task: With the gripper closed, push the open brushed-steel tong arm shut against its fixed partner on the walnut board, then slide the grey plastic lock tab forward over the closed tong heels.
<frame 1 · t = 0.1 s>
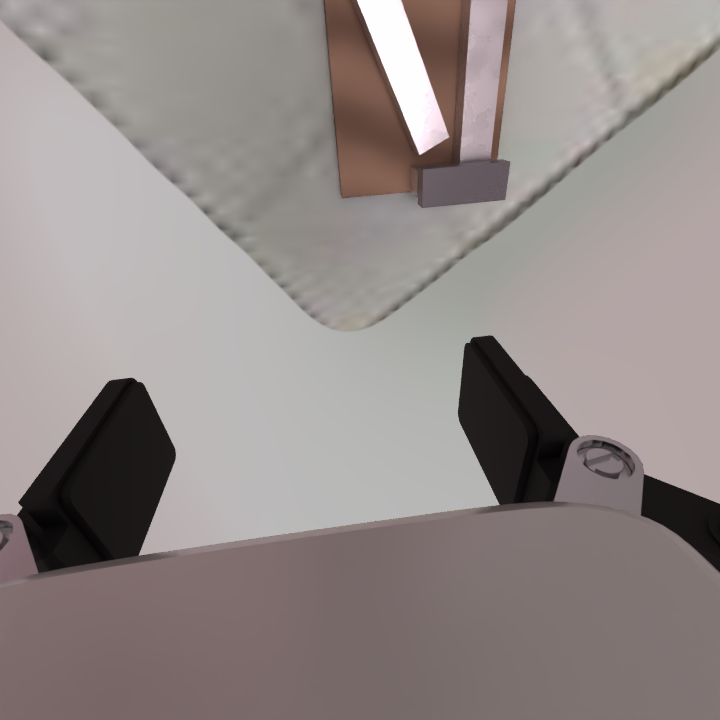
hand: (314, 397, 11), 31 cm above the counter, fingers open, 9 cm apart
lock tab: (462, 183, 33), point 5 cm above the counter, slide at 0.0 cm
tong arm: (382, 18, 29), point 2 cm above the counter, hinge at 25.0°
tongs fixed: (448, 28, 31), resting on walnut board
walnut board: (418, 38, 31), on the counter
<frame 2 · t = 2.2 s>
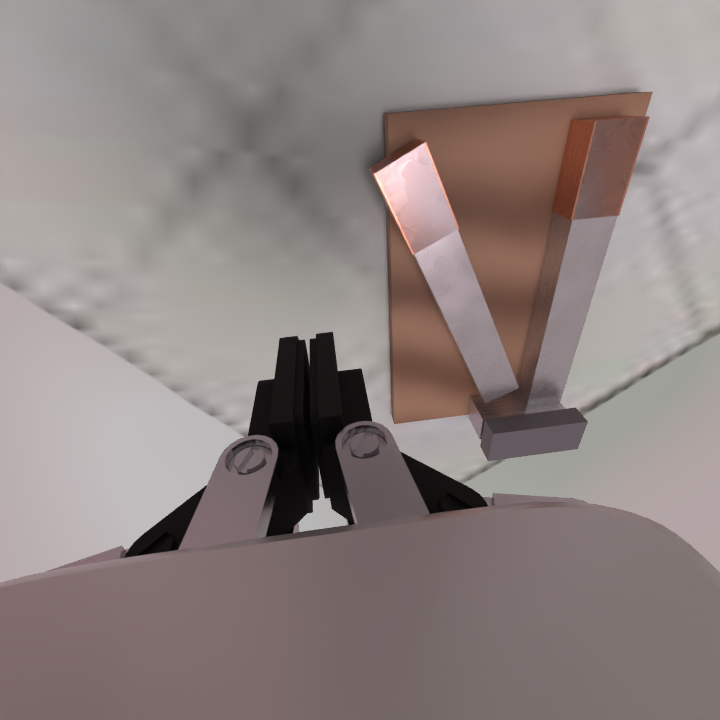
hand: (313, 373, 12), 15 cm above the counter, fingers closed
lock tab: (531, 434, 30), point 5 cm above the counter, slide at 0.0 cm
tong arm: (456, 294, 26), point 3 cm above the counter, hinge at 25.0°
tongs fixed: (521, 278, 28), resting on walnut board
walnut board: (488, 288, 28), on the counter
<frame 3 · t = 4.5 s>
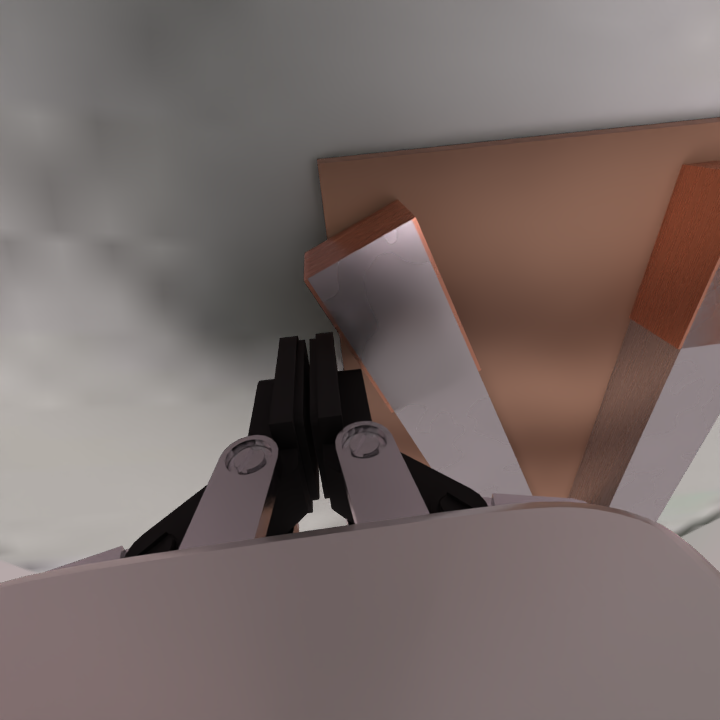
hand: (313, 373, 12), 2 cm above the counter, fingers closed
tong arm: (469, 451, 15), point 2 cm above the counter, hinge at 23.3°, touching gripper
tongs fixed: (566, 403, 18), resting on walnut board
walnut board: (512, 419, 18), on the counter
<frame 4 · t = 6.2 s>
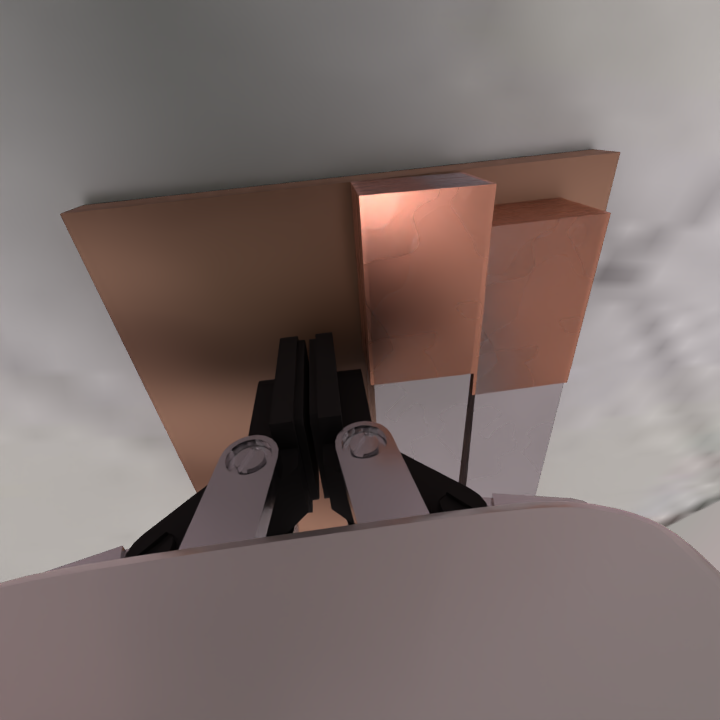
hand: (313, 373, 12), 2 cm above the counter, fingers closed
tong arm: (412, 460, 14), point 2 cm above the counter, hinge at -1.2°, touching gripper, tongs fixed
tongs fixed: (426, 438, 17), resting on walnut board
walnut board: (372, 453, 17), on the counter
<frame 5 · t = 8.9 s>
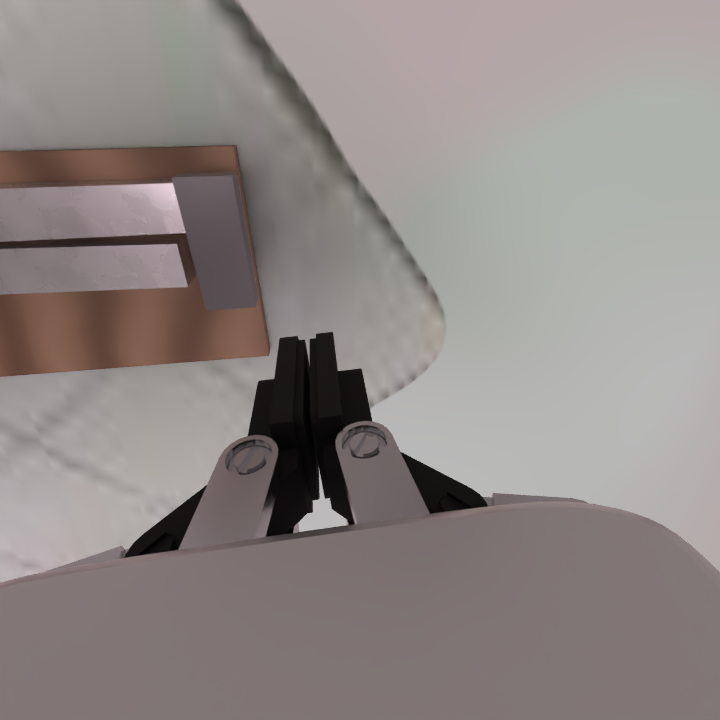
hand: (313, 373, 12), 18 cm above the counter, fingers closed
lock tab: (220, 244, 22), point 5 cm above the counter, slide at 0.0 cm
tong arm: (30, 265, 24), point 2 cm above the counter, hinge at -1.2°, touching tongs fixed
tongs fixed: (67, 235, 26), resting on walnut board
walnut board: (90, 270, 27), on the counter
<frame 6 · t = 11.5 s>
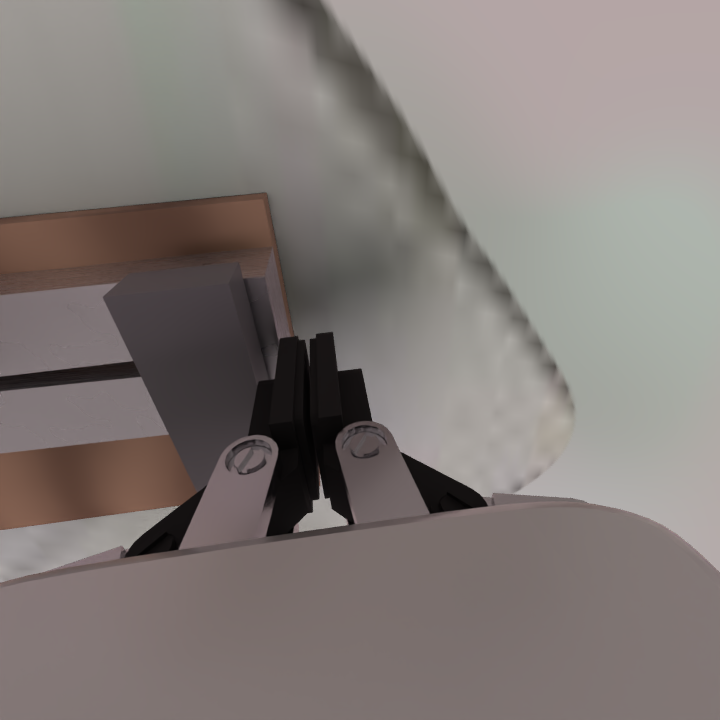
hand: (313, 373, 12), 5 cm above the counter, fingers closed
lock tab: (215, 390, 12), point 5 cm above the counter, slide at 1.1 cm, touching gripper
tongs fixed: (4, 348, 16), resting on walnut board
walnut board: (47, 393, 17), on the counter
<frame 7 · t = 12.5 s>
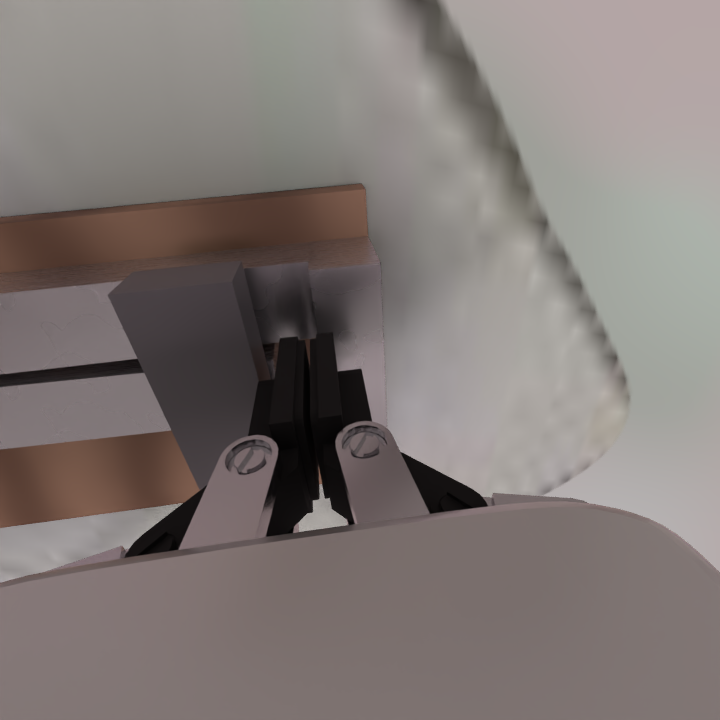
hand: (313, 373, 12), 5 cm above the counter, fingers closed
lock tab: (218, 387, 12), point 5 cm above the counter, slide at 4.5 cm, touching gripper
tong arm: (34, 399, 15), point 2 cm above the counter, hinge at -1.2°, touching tongs fixed
tongs fixed: (91, 336, 16), resting on walnut board
walnut board: (127, 381, 18), on the counter
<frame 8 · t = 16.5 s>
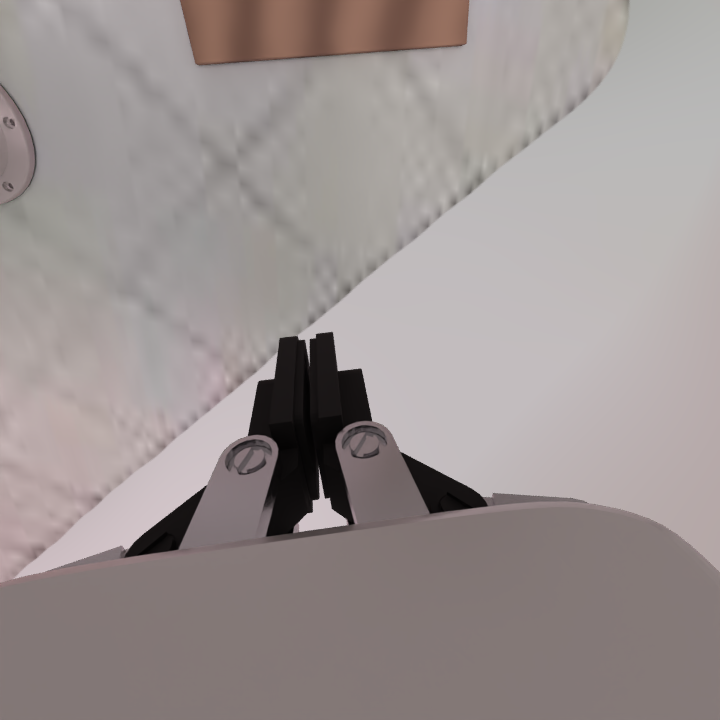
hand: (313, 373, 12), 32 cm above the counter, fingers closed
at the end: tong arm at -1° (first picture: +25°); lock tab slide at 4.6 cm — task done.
